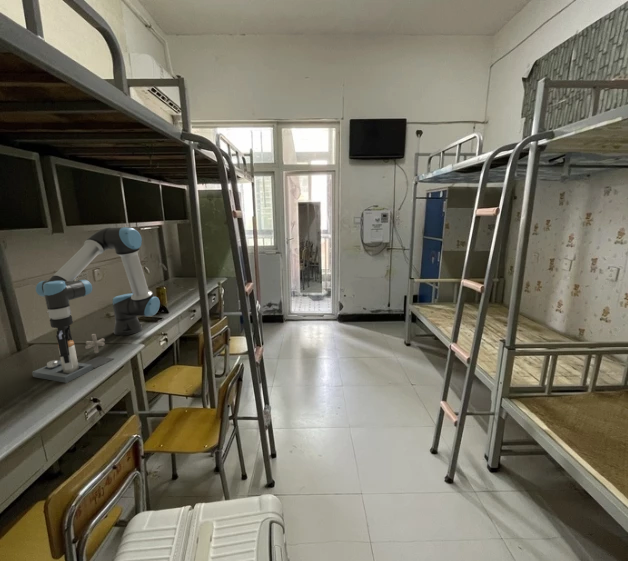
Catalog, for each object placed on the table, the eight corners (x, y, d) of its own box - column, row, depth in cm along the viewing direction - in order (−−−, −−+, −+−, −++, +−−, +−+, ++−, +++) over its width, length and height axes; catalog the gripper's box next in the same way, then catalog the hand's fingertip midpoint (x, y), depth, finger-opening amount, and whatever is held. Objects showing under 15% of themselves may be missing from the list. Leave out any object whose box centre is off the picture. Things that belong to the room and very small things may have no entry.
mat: (98, 357, 158) (98, 356, 158) (113, 359, 155) (113, 358, 155) (78, 366, 148) (78, 365, 148) (94, 368, 146) (94, 367, 146)
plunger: (55, 366, 146) (53, 359, 145) (61, 367, 145) (59, 360, 144) (45, 370, 142) (44, 363, 141) (52, 371, 141) (50, 364, 140)
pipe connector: (96, 357, 157) (93, 338, 155) (80, 355, 159) (76, 337, 157) (112, 349, 167) (109, 331, 165) (97, 347, 169) (94, 330, 167)
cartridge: (65, 372, 142) (59, 341, 139) (80, 369, 144) (74, 339, 141) (62, 378, 137) (56, 346, 134) (78, 374, 139) (72, 343, 136)
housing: (61, 364, 150) (60, 359, 150) (92, 369, 145) (91, 364, 144) (33, 376, 139) (32, 371, 139) (66, 382, 133) (65, 377, 133)
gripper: (54, 312, 141) (64, 359, 146) (43, 324, 125) (54, 377, 130) (75, 309, 145) (83, 356, 150) (66, 321, 129) (77, 372, 134)
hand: (70, 365), depth 140 cm, fingers closed on cartridge, 6 cm apart
